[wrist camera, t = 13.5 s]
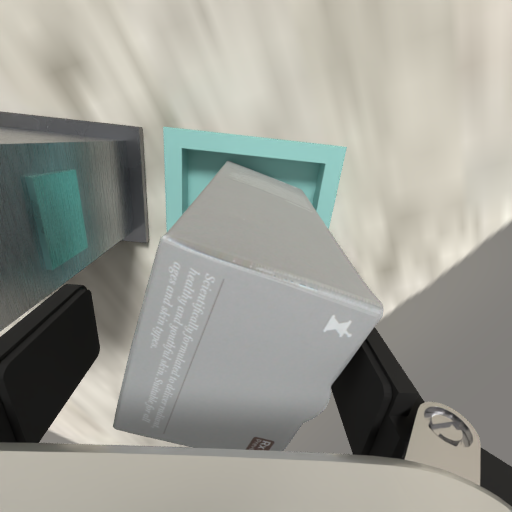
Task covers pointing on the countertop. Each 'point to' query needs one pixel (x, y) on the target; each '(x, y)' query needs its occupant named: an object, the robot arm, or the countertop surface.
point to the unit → (63, 201)
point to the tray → (247, 166)
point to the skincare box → (243, 320)
